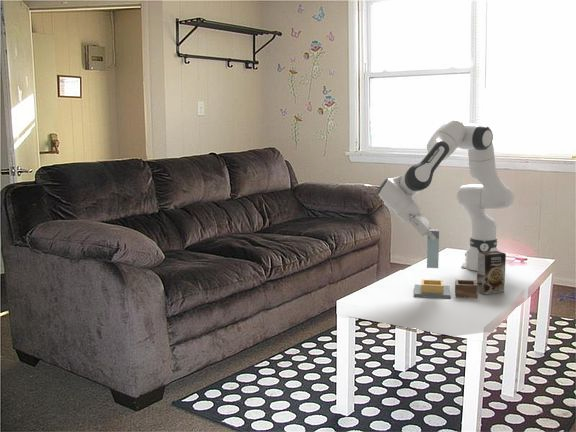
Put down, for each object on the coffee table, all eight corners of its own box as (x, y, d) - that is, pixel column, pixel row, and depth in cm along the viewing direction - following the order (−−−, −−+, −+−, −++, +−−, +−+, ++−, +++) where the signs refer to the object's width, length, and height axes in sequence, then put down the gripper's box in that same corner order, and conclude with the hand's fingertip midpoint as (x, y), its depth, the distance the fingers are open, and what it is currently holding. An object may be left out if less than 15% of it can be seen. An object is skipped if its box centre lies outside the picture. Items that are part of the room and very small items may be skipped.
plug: (426, 265, 257) (427, 228, 255) (438, 265, 256) (438, 229, 254) (426, 267, 253) (427, 230, 251) (438, 268, 252) (439, 231, 250)
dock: (414, 287, 264) (415, 277, 264) (449, 288, 261) (449, 278, 261) (414, 296, 251) (414, 286, 250) (450, 298, 248) (450, 287, 247)
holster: (454, 291, 257) (455, 279, 256) (475, 292, 255) (475, 280, 255) (455, 297, 249) (456, 284, 249) (476, 298, 248) (477, 285, 247)
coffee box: (485, 294, 252) (486, 255, 249) (476, 290, 258) (477, 251, 256) (505, 292, 254) (506, 253, 252) (495, 288, 261) (497, 250, 258)
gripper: (415, 211, 242) (441, 237, 242) (416, 204, 262) (440, 227, 261) (403, 222, 244) (428, 248, 243) (405, 214, 264) (428, 238, 263)
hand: (434, 237), depth 253 cm, fingers closed on plug, 4 cm apart
